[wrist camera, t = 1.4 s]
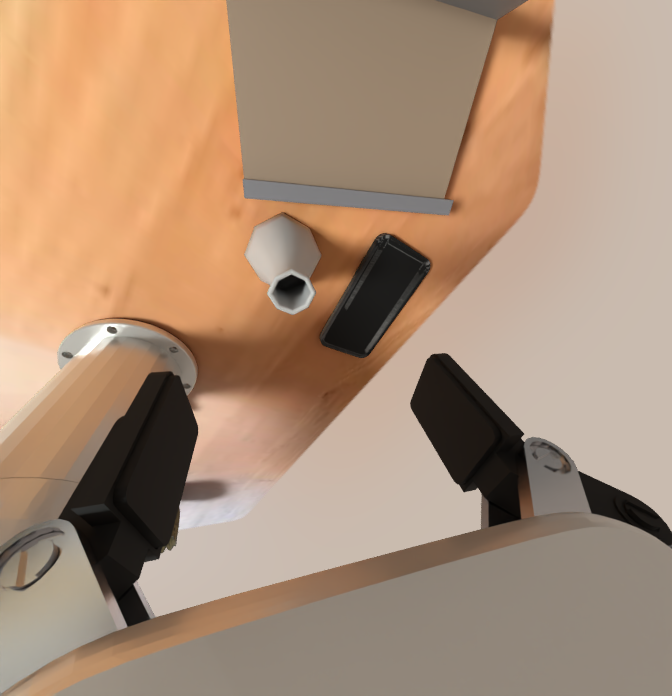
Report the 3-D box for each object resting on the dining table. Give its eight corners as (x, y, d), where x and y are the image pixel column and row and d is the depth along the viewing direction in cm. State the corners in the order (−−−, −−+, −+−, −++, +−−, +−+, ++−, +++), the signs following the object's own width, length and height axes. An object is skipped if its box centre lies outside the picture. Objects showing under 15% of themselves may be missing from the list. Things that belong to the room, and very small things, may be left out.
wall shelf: (429, 210, 26) (482, 224, 19) (247, 194, 21) (239, 205, 15) (487, -2, 18) (606, -94, 12) (219, -93, 14) (180, -315, 7)
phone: (434, 263, 29) (365, 359, 35) (429, 260, 30) (363, 355, 36) (382, 229, 25) (316, 343, 31) (378, 227, 26) (315, 338, 32)
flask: (332, 255, 26) (361, 292, 18) (286, 300, 28) (294, 352, 20) (281, 195, 22) (289, 210, 14) (230, 253, 24) (213, 295, 16)
